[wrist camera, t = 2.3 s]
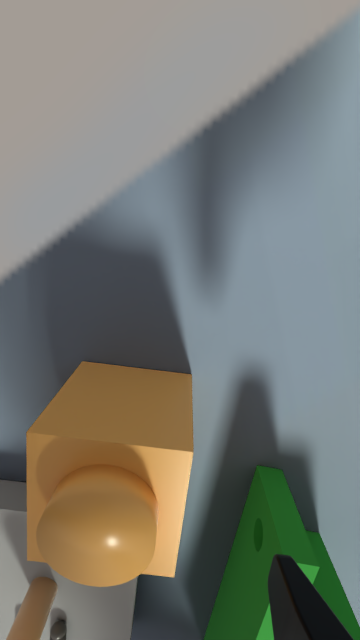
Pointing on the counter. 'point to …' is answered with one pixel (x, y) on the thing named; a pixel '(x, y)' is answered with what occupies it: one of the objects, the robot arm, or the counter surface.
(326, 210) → the counter surface
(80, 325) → the counter surface
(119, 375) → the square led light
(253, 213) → the counter surface
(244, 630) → the pipe clamp
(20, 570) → the plate
